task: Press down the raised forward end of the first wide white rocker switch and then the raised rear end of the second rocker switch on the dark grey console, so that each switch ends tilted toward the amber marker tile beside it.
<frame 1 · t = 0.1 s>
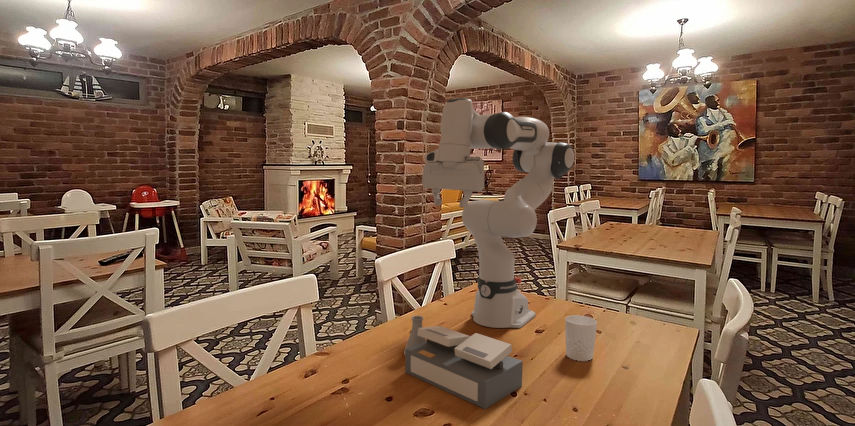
hand: (450, 206, 128), 39 cm above the table, tool pointing down, fingers open, 8 cm apart
donut: (477, 353, 124), on the table
console: (462, 379, 109), on the table
switch b: (482, 349, 104), point 9 cm above the table, hinge at 11.0°
flask: (417, 354, 123), on the table
white cup: (579, 357, 122), on the table
switch a: (443, 335, 112), point 9 cm above the table, hinge at -11.0°
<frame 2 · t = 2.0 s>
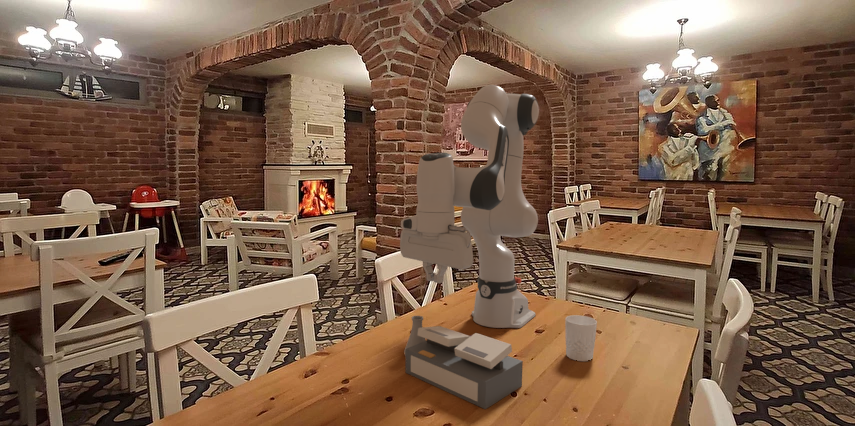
hand: (434, 281, 108), 23 cm above the table, tool pointing down, fingers closed
nothing on the table moved.
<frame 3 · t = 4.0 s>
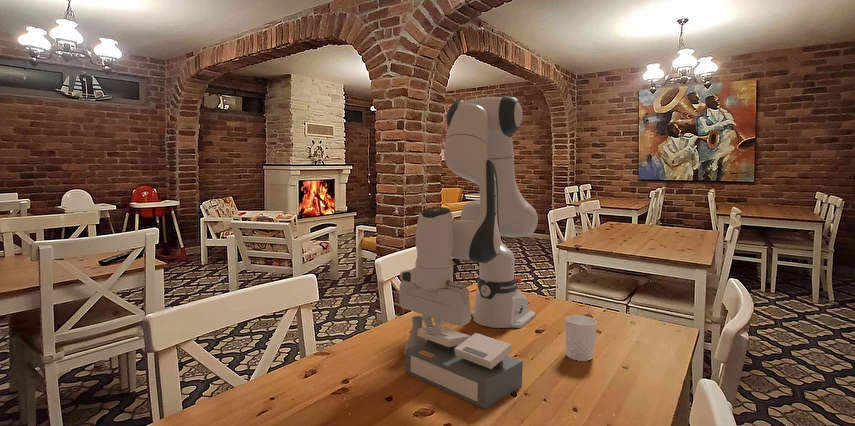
hand: (432, 334, 109), 10 cm above the table, tool pointing down, fingers closed, pressing on switch a
switch a: (443, 335, 112), point 9 cm above the table, hinge at -9.8°, touching gripper
everything else where it was.
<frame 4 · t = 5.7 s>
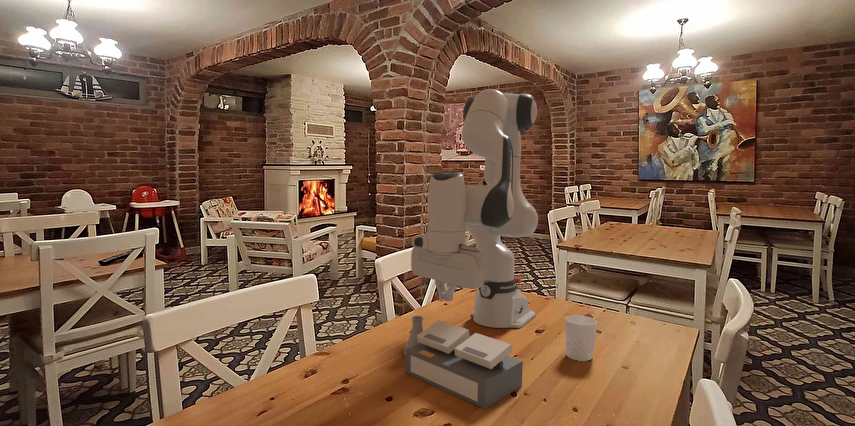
hand: (445, 299, 108), 19 cm above the table, tool pointing down, fingers closed
switch a: (443, 335, 112), point 9 cm above the table, hinge at 15.0°
everything else where it was.
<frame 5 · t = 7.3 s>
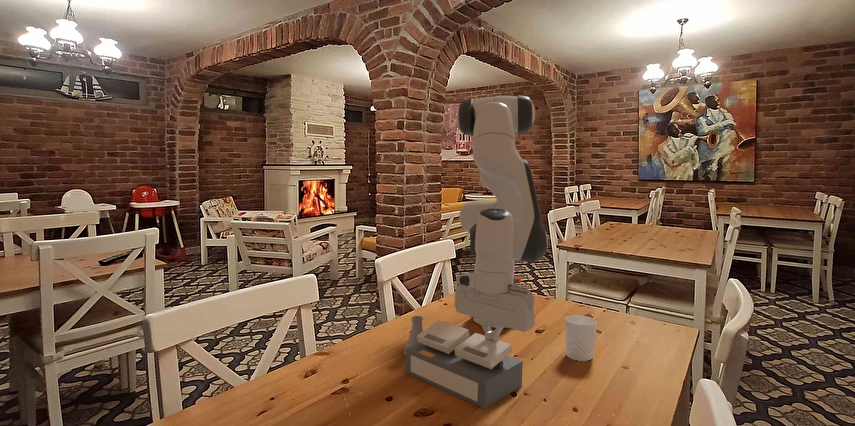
hand: (492, 339, 106), 10 cm above the table, tool pointing down, fingers closed, pressing on switch b
switch b: (482, 349, 104), point 9 cm above the table, hinge at 10.8°, touching gripper
switch a: (443, 335, 112), point 9 cm above the table, hinge at 15.9°
everything else where it was.
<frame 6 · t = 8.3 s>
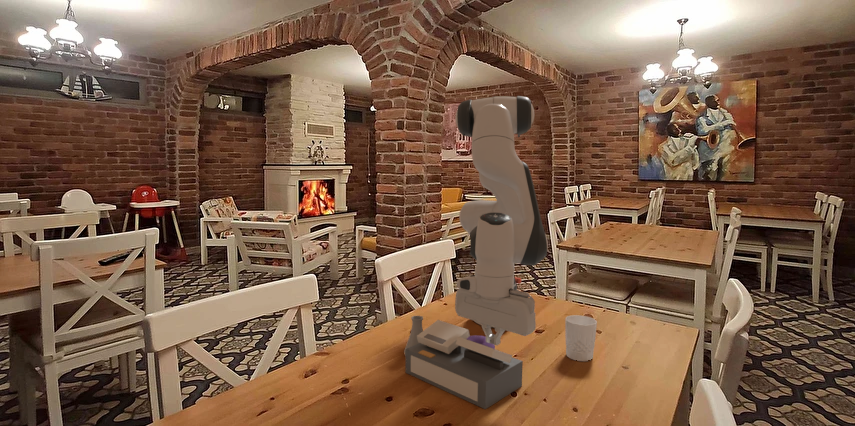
hand: (493, 343, 106), 9 cm above the table, tool pointing down, fingers closed
switch b: (483, 349, 104), point 9 cm above the table, hinge at -26.8°
everything else where it was.
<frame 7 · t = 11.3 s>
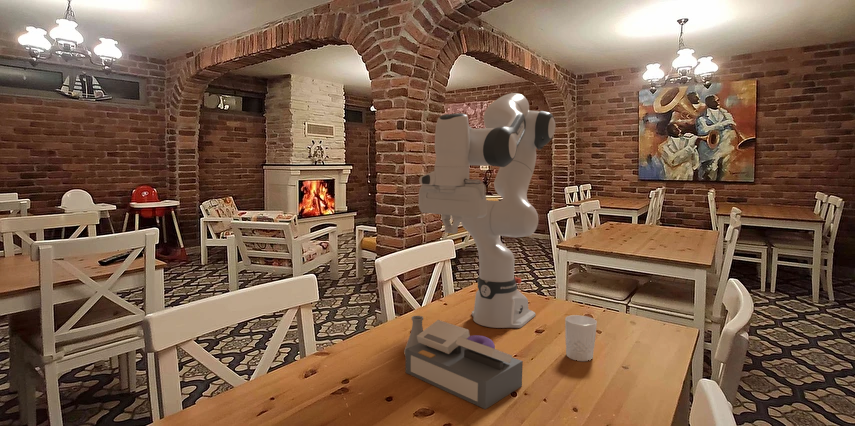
hand: (451, 232, 117), 33 cm above the table, tool pointing down, fingers closed
switch b: (483, 349, 104), point 9 cm above the table, hinge at -27.6°
everything else where it was.
at the end: switch a at +16° (first picture: -11°); switch b at -28° (first picture: +11°) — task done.
